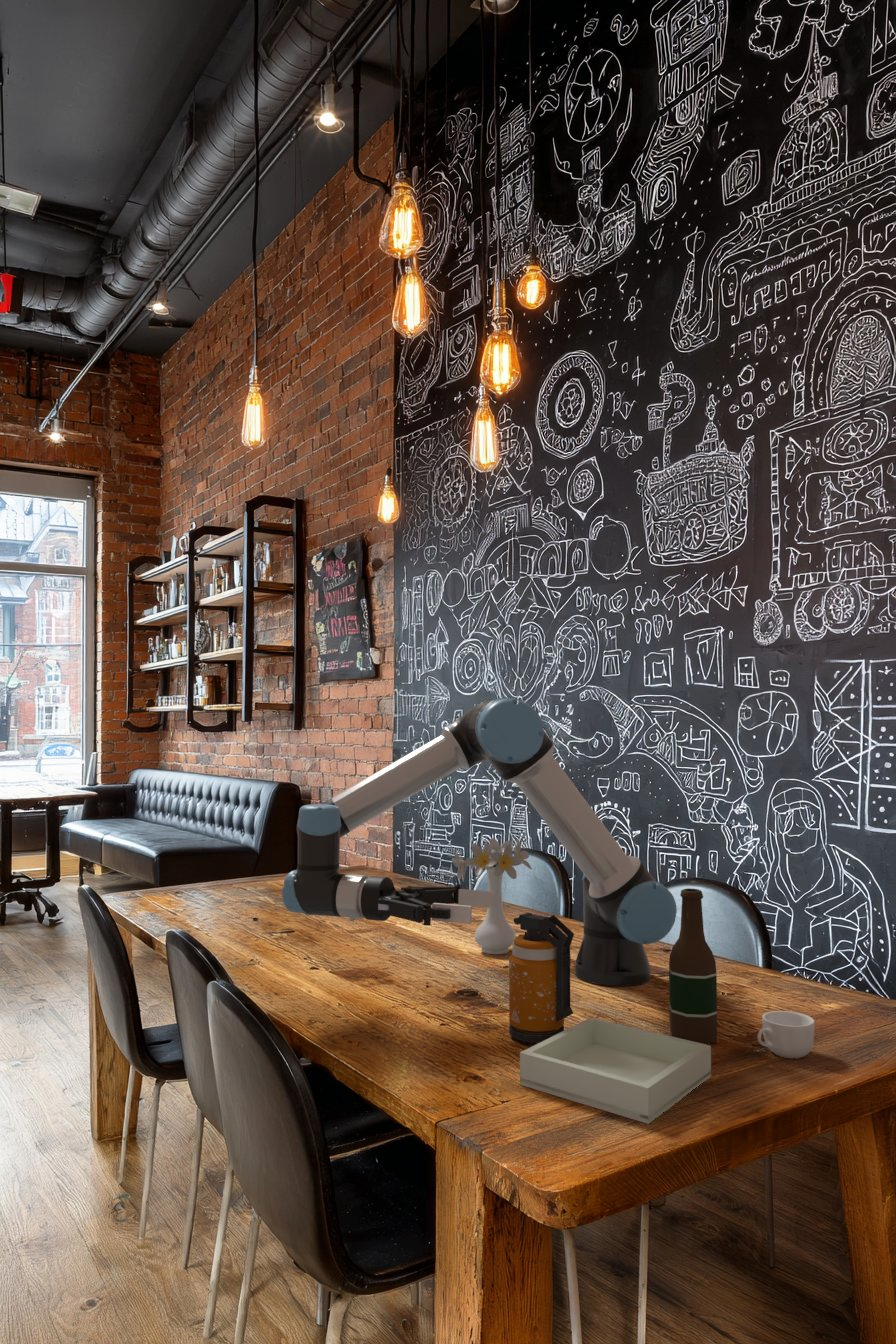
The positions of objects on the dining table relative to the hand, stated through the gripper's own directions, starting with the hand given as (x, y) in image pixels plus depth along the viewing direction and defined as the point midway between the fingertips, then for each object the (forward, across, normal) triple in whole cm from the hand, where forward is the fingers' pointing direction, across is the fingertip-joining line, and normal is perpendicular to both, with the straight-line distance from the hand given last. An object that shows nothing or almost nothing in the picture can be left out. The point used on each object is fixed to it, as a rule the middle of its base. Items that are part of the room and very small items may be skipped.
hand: (483, 907), depth 153 cm
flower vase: (-13, -51, -21) cm, 57 cm away
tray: (+24, +13, -20) cm, 34 cm away
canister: (+10, 0, -21) cm, 23 cm away
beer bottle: (+34, -9, -20) cm, 40 cm away
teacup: (+47, -6, -20) cm, 52 cm away
